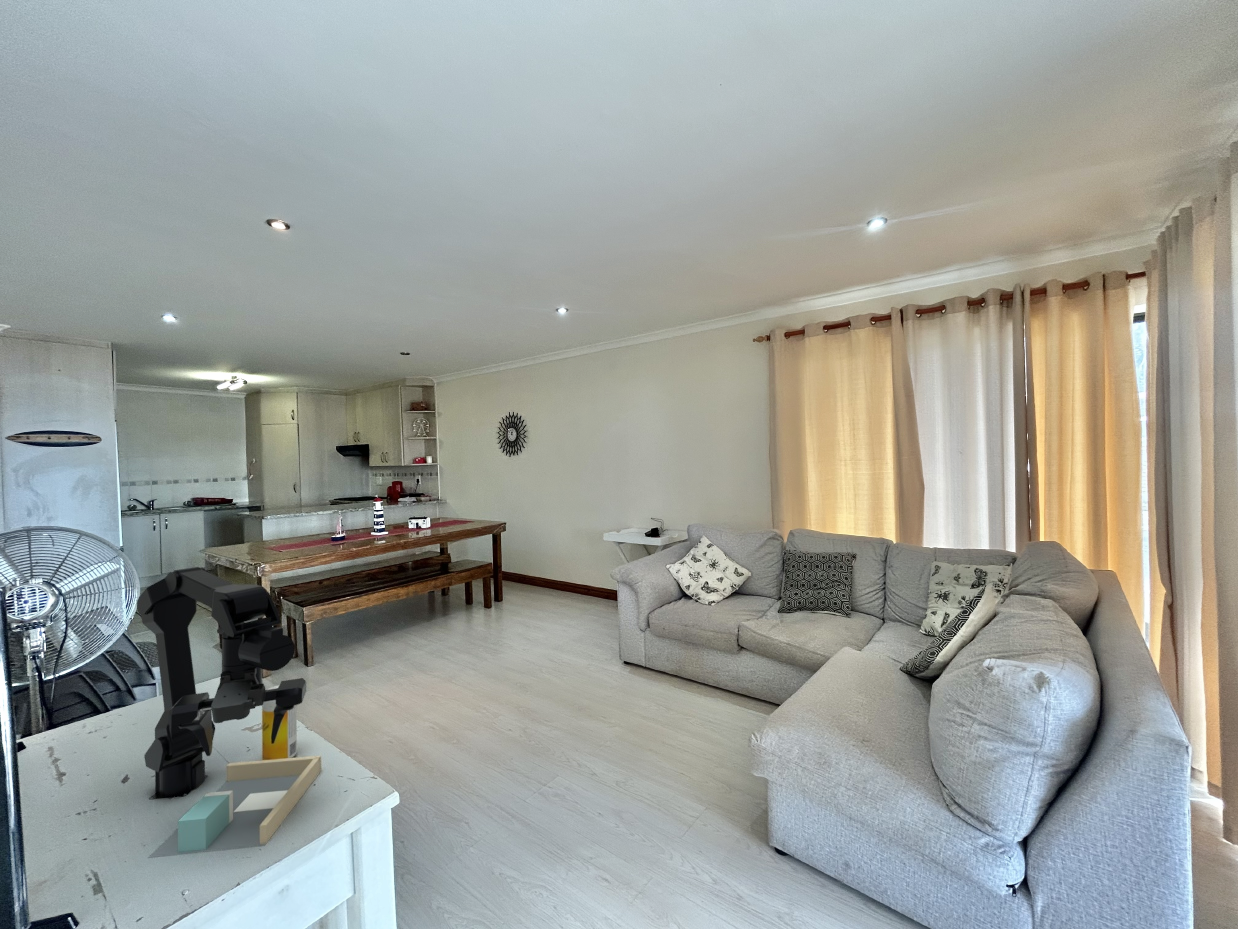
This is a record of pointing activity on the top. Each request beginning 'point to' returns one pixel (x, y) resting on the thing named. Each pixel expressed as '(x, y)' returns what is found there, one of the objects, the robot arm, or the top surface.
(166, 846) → the board
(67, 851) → the top surface
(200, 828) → the teal block
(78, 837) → the top surface
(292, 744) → the beer can
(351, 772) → the top surface
